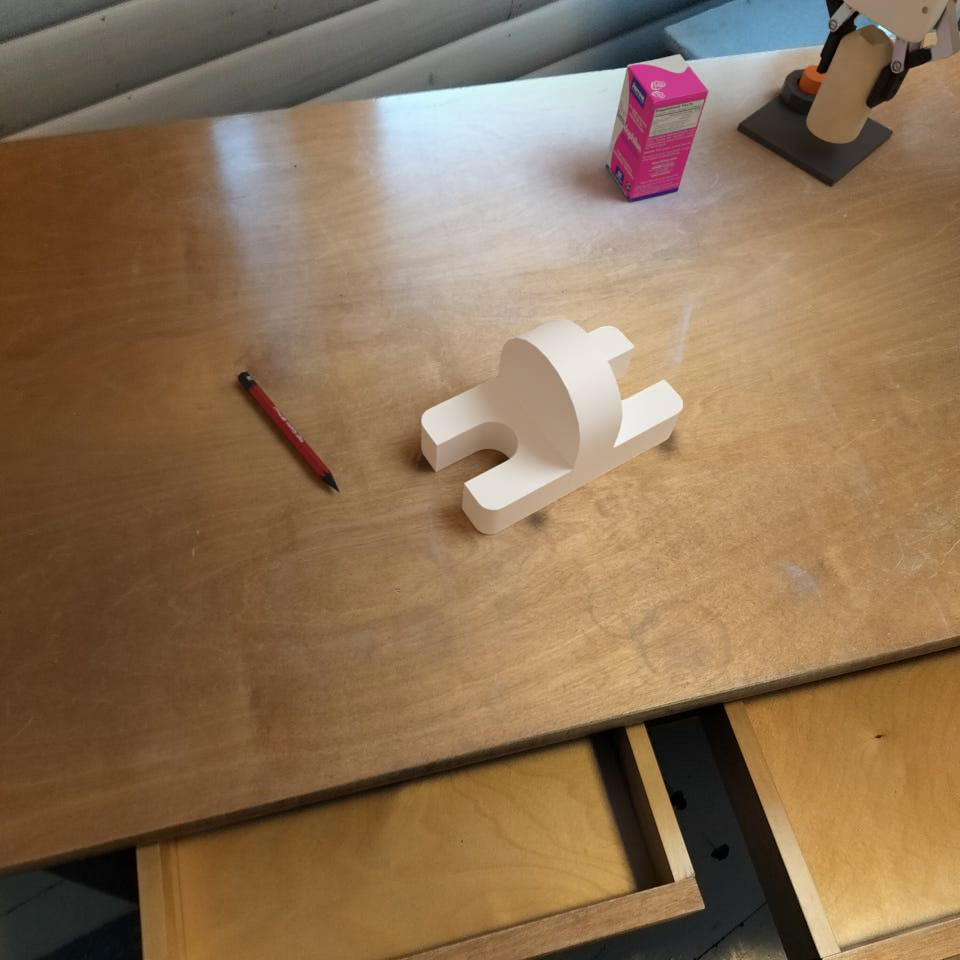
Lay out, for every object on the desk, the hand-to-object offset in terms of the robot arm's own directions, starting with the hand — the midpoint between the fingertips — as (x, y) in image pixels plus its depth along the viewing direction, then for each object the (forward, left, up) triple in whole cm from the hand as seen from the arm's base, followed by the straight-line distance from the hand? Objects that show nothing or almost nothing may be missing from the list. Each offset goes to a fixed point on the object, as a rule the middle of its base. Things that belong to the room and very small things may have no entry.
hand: (852, 83), depth 84 cm
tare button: (-5, -6, -6) cm, 10 cm away
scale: (-2, -2, -8) cm, 8 cm away
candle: (0, 0, -5) cm, 5 cm away
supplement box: (+19, -7, -8) cm, 22 cm away
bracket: (+47, +12, -8) cm, 49 cm away
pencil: (+64, 0, -8) cm, 65 cm away
